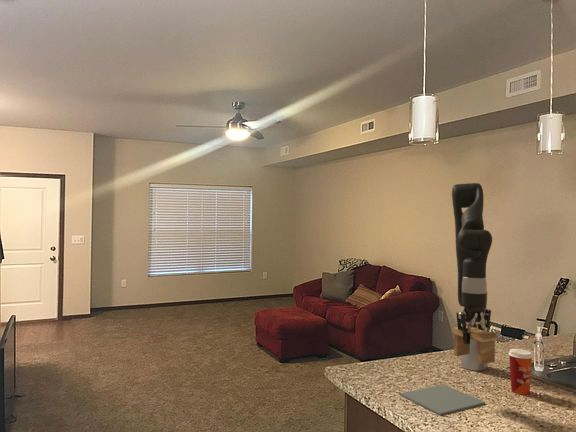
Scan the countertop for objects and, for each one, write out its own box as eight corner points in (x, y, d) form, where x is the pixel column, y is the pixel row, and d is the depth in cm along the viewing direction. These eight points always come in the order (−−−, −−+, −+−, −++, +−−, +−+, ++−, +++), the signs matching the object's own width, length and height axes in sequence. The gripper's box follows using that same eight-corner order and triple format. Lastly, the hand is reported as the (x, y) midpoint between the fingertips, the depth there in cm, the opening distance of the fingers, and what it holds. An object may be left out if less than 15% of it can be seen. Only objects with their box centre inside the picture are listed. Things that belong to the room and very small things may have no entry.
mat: (443, 385, 165) (443, 384, 165) (485, 404, 149) (485, 402, 149) (399, 395, 155) (399, 393, 155) (439, 415, 139) (439, 413, 139)
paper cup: (523, 397, 154) (523, 355, 154) (503, 390, 161) (503, 349, 161) (538, 393, 158) (538, 352, 158) (517, 386, 165) (518, 347, 165)
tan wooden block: (496, 362, 146) (496, 333, 146) (483, 364, 143) (483, 335, 143) (465, 352, 156) (465, 325, 156) (452, 354, 153) (452, 327, 153)
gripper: (468, 294, 143) (468, 348, 143) (498, 291, 150) (498, 342, 150) (449, 290, 150) (449, 342, 149) (479, 288, 157) (478, 337, 156)
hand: (473, 342), depth 150 cm, fingers closed on tan wooden block, 6 cm apart
